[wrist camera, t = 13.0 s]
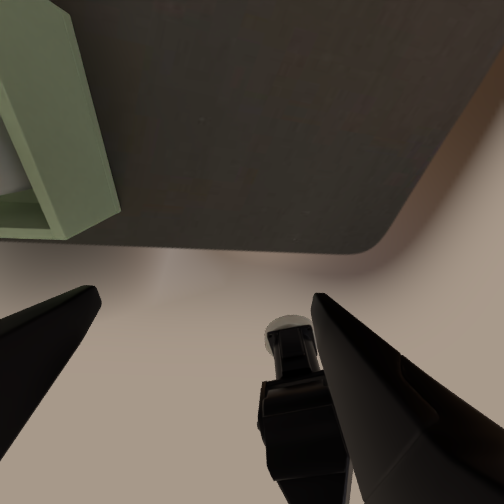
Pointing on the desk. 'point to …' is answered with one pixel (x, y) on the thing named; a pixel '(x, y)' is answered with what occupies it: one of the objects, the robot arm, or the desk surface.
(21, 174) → the beverage can
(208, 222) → the desk surface
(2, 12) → the bin
